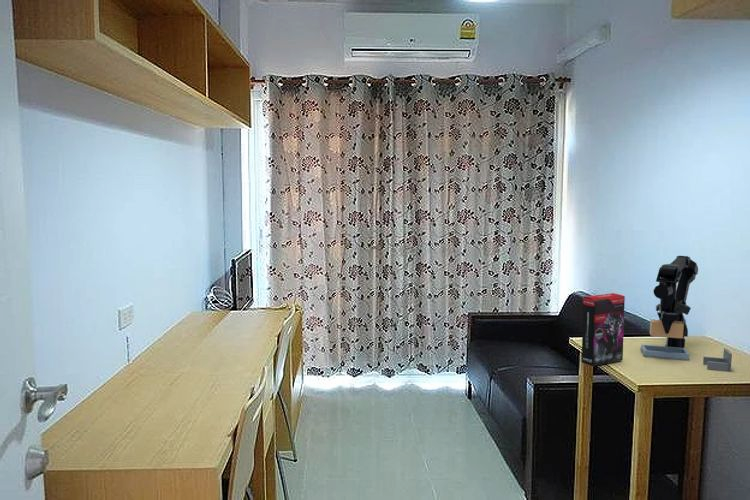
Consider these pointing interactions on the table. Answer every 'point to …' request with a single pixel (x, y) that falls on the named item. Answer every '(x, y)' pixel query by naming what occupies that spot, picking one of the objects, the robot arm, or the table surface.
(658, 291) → the robot arm
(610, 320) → the graphics card box
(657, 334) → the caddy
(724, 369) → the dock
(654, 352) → the tray
